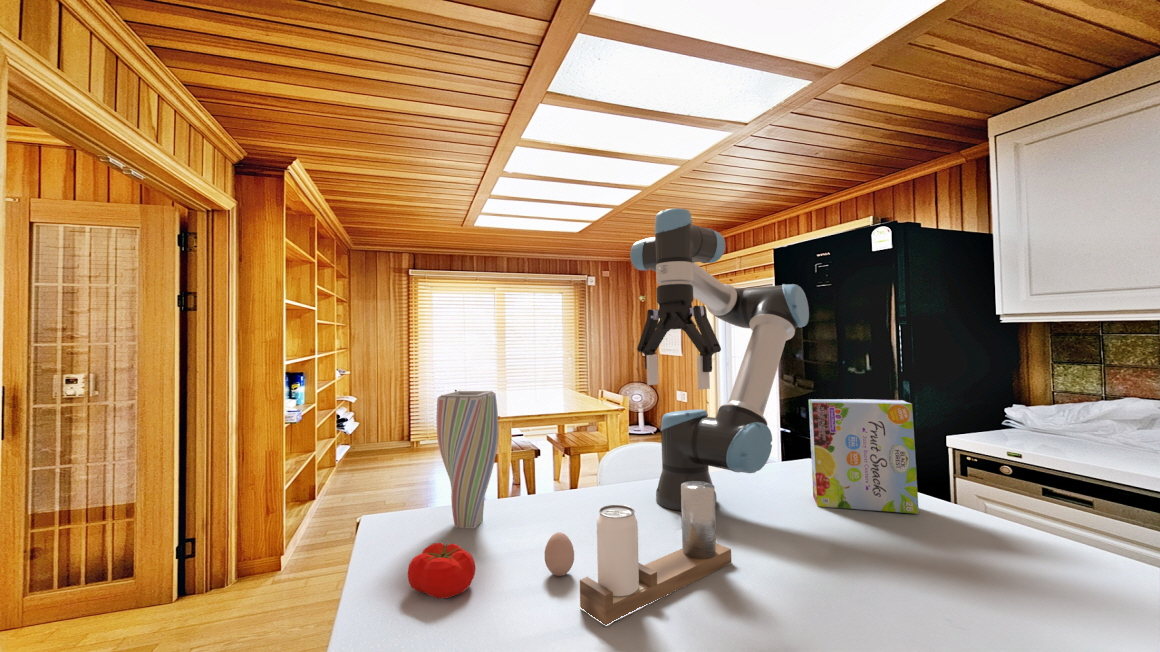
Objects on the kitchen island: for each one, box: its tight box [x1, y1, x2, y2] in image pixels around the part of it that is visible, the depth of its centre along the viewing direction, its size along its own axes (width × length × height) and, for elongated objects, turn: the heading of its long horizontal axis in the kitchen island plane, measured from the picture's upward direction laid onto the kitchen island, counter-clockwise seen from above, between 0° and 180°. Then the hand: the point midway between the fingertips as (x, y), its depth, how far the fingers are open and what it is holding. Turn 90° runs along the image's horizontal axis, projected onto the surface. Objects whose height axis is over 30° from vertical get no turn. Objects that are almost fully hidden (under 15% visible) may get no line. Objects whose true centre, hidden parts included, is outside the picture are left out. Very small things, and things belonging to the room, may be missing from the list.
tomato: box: [407, 542, 476, 599], centre depth 81 cm, size 10×11×6 cm
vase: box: [435, 390, 499, 529], centre depth 110 cm, size 14×14×30 cm
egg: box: [544, 531, 575, 577], centre depth 85 cm, size 5×5×7 cm
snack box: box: [808, 398, 920, 515], centre depth 117 cm, size 22×9×26 cm, turn 71°
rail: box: [579, 542, 732, 625], centre depth 81 cm, size 6×31×4 cm, turn 128°
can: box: [596, 504, 640, 597], centre depth 75 cm, size 6×6×12 cm
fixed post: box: [681, 481, 717, 560], centre depth 88 cm, size 6×6×12 cm
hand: (677, 386), depth 99 cm, fingers open, 13 cm apart
